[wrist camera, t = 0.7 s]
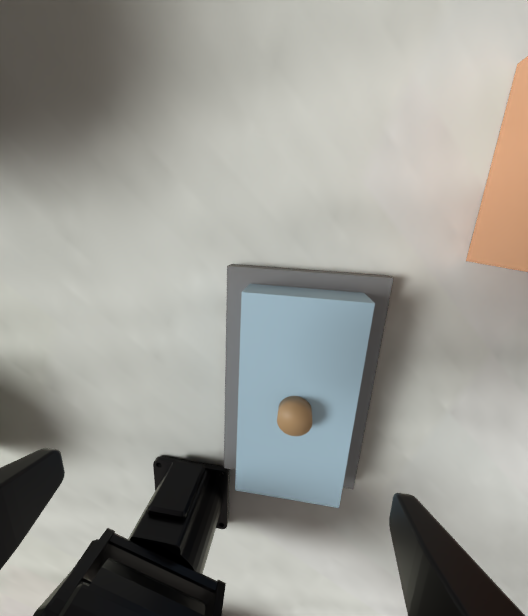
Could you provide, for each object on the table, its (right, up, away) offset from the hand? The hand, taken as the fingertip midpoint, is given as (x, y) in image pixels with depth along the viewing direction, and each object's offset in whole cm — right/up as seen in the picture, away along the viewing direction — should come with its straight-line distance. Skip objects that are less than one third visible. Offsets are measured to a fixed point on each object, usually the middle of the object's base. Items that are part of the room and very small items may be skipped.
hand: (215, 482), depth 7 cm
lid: (+3, -1, +11) cm, 12 cm away
